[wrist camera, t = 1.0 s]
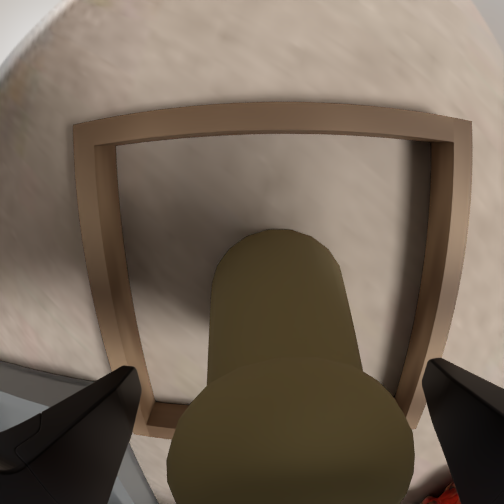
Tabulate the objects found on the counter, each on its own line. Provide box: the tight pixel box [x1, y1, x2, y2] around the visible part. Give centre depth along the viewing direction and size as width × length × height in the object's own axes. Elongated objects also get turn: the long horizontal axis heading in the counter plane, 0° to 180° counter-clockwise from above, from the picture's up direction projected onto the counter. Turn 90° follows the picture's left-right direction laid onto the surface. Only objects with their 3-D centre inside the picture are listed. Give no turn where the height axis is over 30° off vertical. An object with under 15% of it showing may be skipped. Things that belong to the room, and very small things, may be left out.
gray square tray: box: [0, 361, 159, 504], centre depth 18 cm, size 18×18×3 cm
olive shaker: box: [167, 230, 415, 504], centre depth 9 cm, size 6×6×11 cm
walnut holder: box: [73, 102, 472, 439], centre depth 14 cm, size 16×16×2 cm
